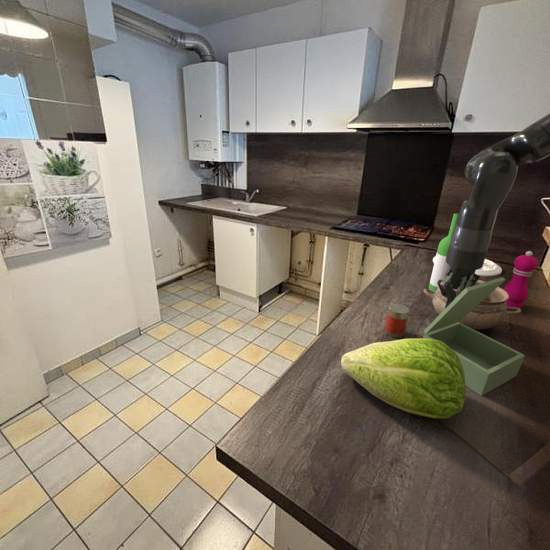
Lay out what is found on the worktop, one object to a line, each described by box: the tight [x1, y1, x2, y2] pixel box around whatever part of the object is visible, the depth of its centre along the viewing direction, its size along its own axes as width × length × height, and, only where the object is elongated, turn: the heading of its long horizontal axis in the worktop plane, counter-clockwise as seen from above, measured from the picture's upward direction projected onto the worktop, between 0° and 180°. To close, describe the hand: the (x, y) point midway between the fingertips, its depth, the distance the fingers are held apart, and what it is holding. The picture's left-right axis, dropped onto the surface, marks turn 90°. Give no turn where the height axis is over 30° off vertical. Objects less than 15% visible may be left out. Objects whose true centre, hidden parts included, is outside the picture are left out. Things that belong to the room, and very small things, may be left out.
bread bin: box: [422, 322, 526, 396], centre depth 71 cm, size 16×14×7 cm
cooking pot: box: [423, 278, 522, 331], centre depth 89 cm, size 25×19×12 cm
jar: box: [384, 303, 410, 339], centre depth 84 cm, size 6×6×9 cm
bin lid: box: [422, 277, 506, 335], centre depth 70 cm, size 17×14×1 cm
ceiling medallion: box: [432, 255, 503, 278], centre depth 138 cm, size 28×28×3 cm
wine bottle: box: [428, 212, 459, 291], centre depth 106 cm, size 8×8×30 cm
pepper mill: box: [502, 250, 539, 310], centre depth 98 cm, size 7×7×20 cm
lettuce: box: [340, 337, 467, 420], centre depth 63 cm, size 15×24×16 cm
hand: (450, 311), depth 74 cm, fingers closed
